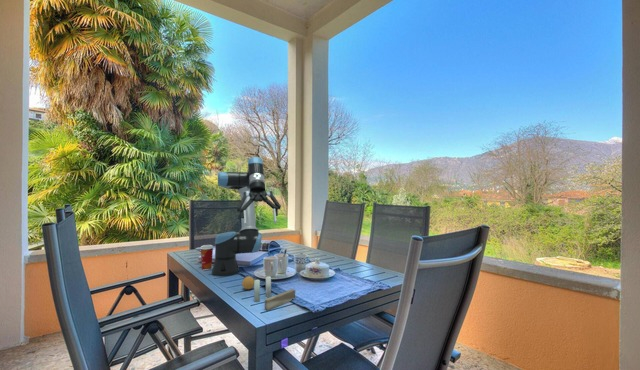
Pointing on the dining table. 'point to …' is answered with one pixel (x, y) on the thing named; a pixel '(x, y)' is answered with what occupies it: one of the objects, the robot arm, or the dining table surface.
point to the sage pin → (256, 290)
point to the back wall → (279, 299)
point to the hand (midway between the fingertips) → (260, 223)
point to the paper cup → (206, 256)
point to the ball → (248, 283)
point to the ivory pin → (268, 286)
